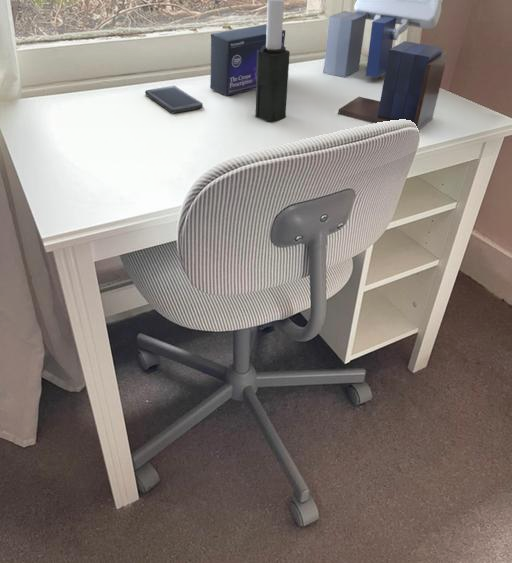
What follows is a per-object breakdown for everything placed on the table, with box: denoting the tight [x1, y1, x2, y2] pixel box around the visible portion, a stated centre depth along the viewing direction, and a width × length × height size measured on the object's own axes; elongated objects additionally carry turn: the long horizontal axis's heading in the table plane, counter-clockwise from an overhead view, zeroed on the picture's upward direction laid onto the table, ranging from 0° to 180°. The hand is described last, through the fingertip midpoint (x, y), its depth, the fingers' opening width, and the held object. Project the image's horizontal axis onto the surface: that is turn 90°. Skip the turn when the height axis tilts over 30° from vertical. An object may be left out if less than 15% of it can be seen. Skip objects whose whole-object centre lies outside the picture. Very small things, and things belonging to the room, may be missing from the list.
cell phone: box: [144, 85, 204, 114], centre depth 115 cm, size 7×14×1 cm, turn 34°
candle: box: [254, 0, 291, 123], centre depth 102 cm, size 5×5×25 cm
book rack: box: [337, 40, 449, 131], centre depth 107 cm, size 17×10×14 cm, turn 56°
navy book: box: [365, 16, 396, 79], centre depth 127 cm, size 3×7×12 cm, turn 146°
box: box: [209, 23, 286, 97], centre depth 121 cm, size 17×7×12 cm, turn 132°
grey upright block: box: [323, 10, 367, 78], centre depth 132 cm, size 6×8×13 cm
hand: (384, 37), depth 126 cm, fingers closed on navy book, 3 cm apart
